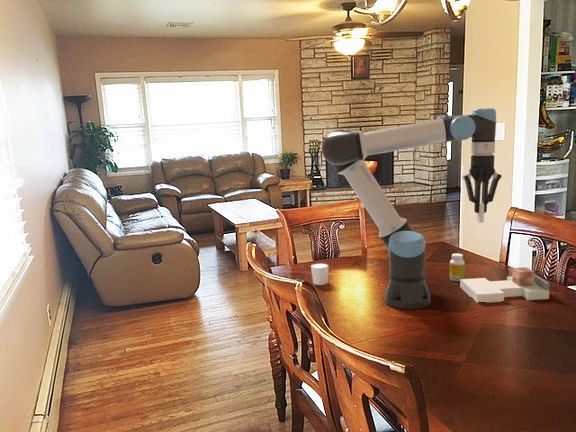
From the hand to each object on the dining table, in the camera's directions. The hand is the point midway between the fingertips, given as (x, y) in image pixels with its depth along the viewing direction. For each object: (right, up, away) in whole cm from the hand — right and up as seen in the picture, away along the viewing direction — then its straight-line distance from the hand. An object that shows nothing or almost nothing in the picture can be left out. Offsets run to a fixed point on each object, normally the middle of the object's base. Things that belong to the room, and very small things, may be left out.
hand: (479, 221), depth 176 cm
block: (+14, -22, -2) cm, 26 cm away
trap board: (+7, -25, -1) cm, 26 cm away
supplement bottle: (-3, -22, +15) cm, 27 cm away
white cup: (-55, -24, +20) cm, 63 cm away
